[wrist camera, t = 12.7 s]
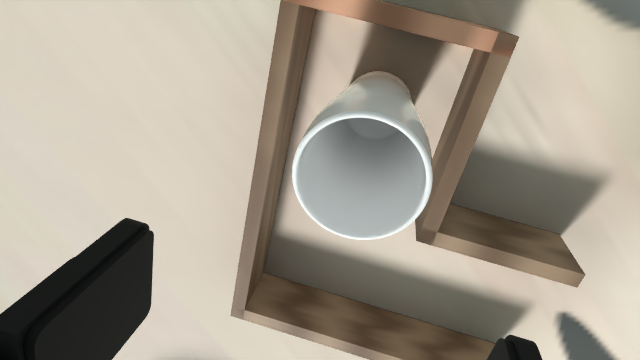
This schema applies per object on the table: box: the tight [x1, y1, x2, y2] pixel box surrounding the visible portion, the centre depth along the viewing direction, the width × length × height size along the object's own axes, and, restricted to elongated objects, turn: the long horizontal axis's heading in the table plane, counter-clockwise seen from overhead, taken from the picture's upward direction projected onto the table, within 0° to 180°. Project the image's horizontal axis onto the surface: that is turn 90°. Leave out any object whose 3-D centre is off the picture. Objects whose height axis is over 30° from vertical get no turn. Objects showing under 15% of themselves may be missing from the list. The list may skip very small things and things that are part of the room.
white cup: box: [292, 71, 433, 240], centre depth 26 cm, size 7×7×15 cm
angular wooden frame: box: [231, 0, 585, 360], centre depth 33 cm, size 25×28×6 cm
